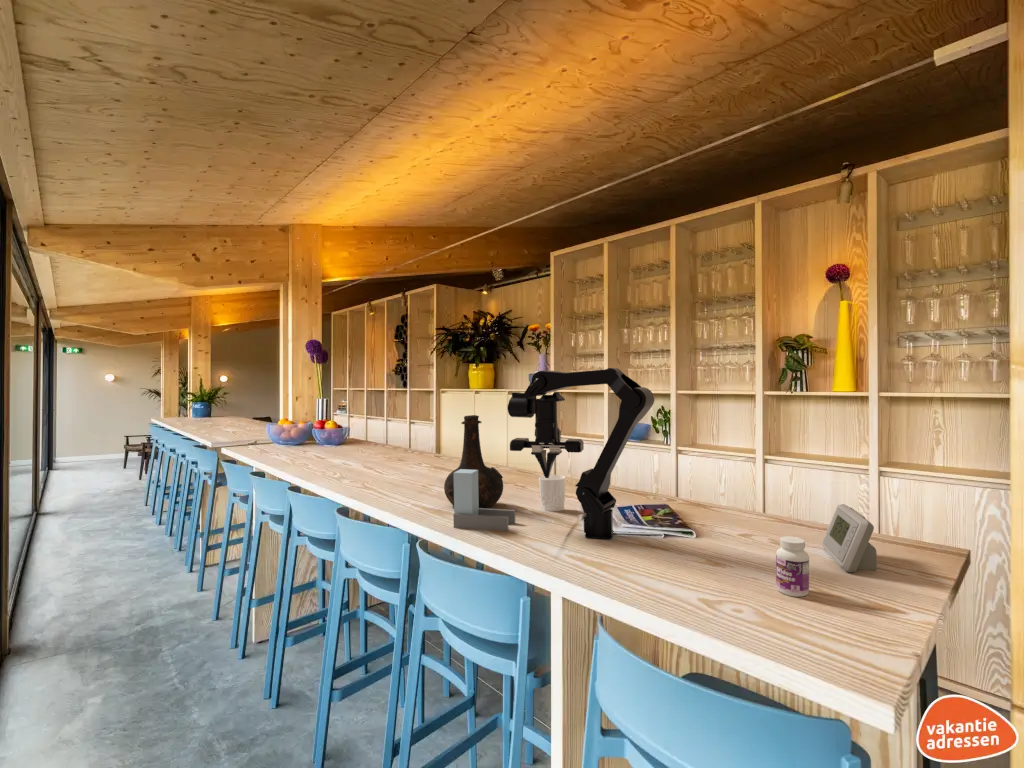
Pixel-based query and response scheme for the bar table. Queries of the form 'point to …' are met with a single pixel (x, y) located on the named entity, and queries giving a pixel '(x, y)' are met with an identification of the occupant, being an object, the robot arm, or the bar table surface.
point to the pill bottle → (792, 567)
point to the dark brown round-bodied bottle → (476, 467)
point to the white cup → (552, 492)
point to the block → (466, 492)
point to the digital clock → (850, 540)
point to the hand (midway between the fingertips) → (547, 477)
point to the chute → (486, 519)
